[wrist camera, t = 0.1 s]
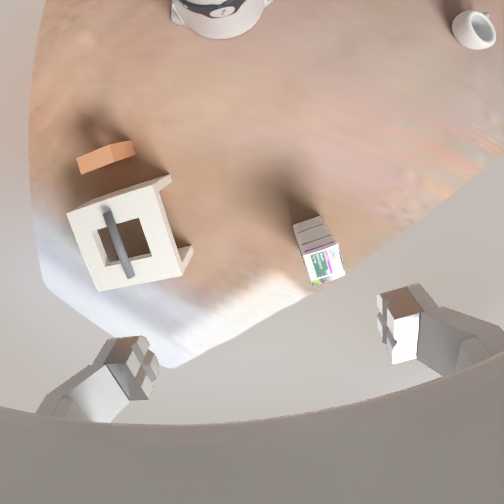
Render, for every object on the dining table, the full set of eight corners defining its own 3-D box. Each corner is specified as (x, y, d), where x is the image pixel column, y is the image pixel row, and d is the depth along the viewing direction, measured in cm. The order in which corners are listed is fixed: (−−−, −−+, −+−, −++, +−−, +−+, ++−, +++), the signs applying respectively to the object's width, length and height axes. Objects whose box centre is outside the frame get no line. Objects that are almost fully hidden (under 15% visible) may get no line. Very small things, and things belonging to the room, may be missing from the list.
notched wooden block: (101, 151, 54) (76, 158, 45) (131, 139, 53) (109, 144, 44) (105, 165, 55) (81, 174, 46) (135, 154, 54) (114, 161, 45)
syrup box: (291, 224, 59) (299, 255, 45) (321, 214, 58) (338, 243, 44) (300, 250, 61) (310, 288, 48) (329, 241, 60) (347, 276, 47)
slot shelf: (92, 199, 58) (61, 216, 47) (169, 174, 56) (148, 187, 45) (117, 268, 64) (94, 295, 53) (193, 252, 62) (179, 280, 51)
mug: (467, 59, 43) (489, 55, 36) (440, 29, 41) (460, 21, 34) (487, 30, 39) (508, 25, 32) (462, 2, 37) (481, -7, 30)
